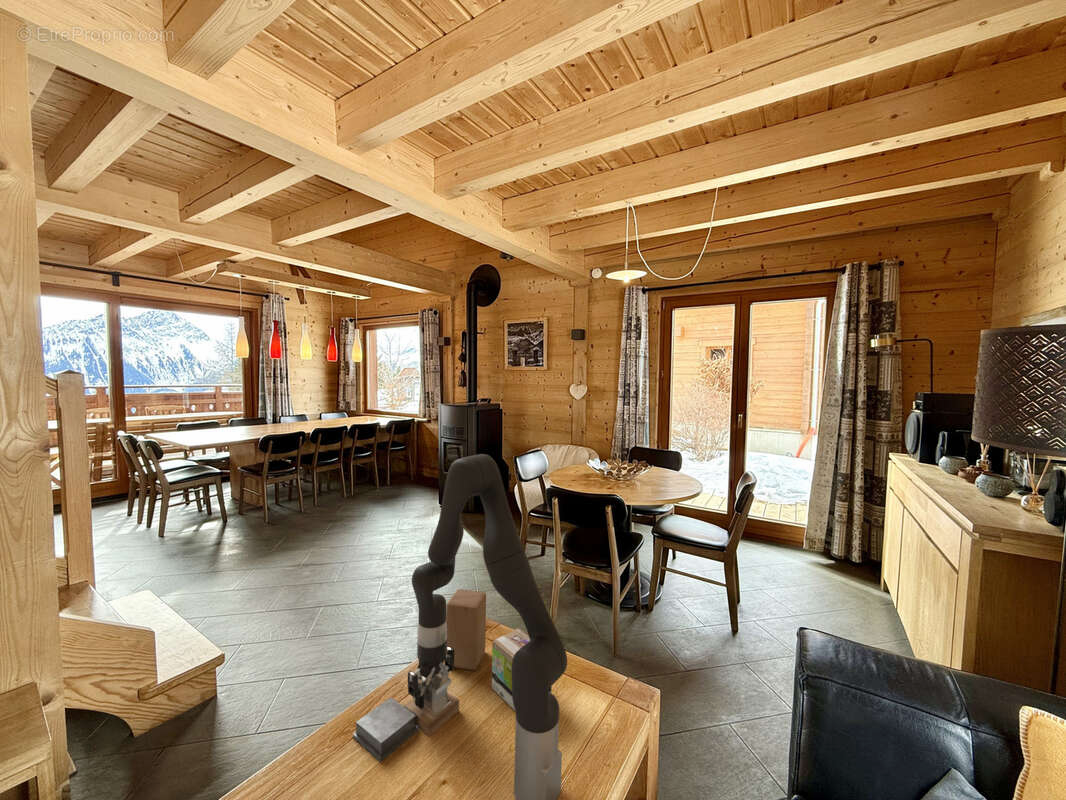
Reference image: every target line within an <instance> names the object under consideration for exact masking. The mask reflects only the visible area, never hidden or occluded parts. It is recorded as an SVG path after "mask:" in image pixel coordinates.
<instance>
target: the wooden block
mask: <svg viewBox="0 0 1066 800" xmlns="http://www.w3.org/2000/svg"><path fill="white" fill-rule="evenodd" d="M486 620H487V594H486V592H484V591H478V590H470V589H469V590H468V589H465V588H463V589H462V588H459V589H457V590H456V591H455V592H454V594H453V595H452V596H451V598H450V599H449V600H448V601H447V602H446V623H447V646H449V647H451V648H452V649H454V668H458V669H463V670H469V671H476V670H477V668H478V667H479V664H480V662H481V659H482V658H483V656H484V654H485V652H486V628H487V625H486V624H487V621H486ZM449 664H450V663H449Z"/></svg>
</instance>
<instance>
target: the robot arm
mask: <svg viewBox="0 0 1066 800" xmlns="http://www.w3.org/2000/svg"><path fill="white" fill-rule="evenodd" d="M501 475H502V474H501V473H500V469H499V466H498V464H497V463H496V461H495V459H494V458H493V457H491V455H489V454H486V453H480V454H479V453H478V454H474V455H469V456H465V457H464V456H463V457H460V458H458V459H456V460H454V461H453V462H452V463H451V464H450V466H449V469H448V472H447V474H446V478H445V479H446V480H445V483H444V484H445V485H444V490H443V495H442V496H443V497H442V501H441V507H440V514H439V518H438V522H437V525H436V529H435V531H434V534H433V535H432V539H431V542H430V544H429V547H428V551H427V555H428V556H427V557H428V559H429V561H428V562H426V563H423V564H421V565H419V566H417V567H416V568H415V569H414V570H413V572H412V576H411V584H412V588H413V589H412V590H413V591H414V595H415V599H416V602H417V607H418V622H417V623H418V625H417V631H416V632H417V633H416V634H417V637H416V639H417V641H416V643H417V645H416V646H417V649H416V651H417V652H416V654H417V655H416V657H417V660H418V665H417V667H416V669H415V670H414V671H412V670H409V671H408V673H407V694H408V695H410V696H411V697H412V698H413V697H414V698H415V705H416V706H417V707H419V708H420V709H422V708H424V691H425V689H426V686H428V685H429V682H430V680H431V678H433V677H434V675H437V674H438V673H439V672H440V673H442V674H444V675H445V676H447V677H448V678H449V674H450V672H452V671H453V670H454V668H455V667H454V649H452V648H451V647H449V646H447V623H446V611H447V600H446V598H445V596H443V595H442V594H438V593H434V591H437V590H439V589H441V588H443V587H445V586H448V584H449V583H450V582H451V581H452V580H453V578H454V576H455V572H456V571H455V567H456V557H457V554H458V552H459V549H460V547H461V544H462V542H463V537H464V533H465V532H464V530H465V529H464V523H463V520H462V512H463V510H464V508H465V505H466V504H467V502H468V501H469V499H470V498H472V497H476V496H479V497H480V501H481V503H482V506H483V511H484V514H485V528H484V536H483V537H484V538H483V545H482V546H483V547H482V556H483V560H484V565H485V566H486V570H487V573H488V575H489V579H490V581H491V585H492V586H493V588H494V589H495V591H496V592H497V593H498V595H500V596H501V597H502V598H503V599H504V600H505V601H506V602H508V604H509V605H511V606H512V607H513V608H514V609H515V610H516V612H517V613H518V614H519V616H520V618H521V619H522V621H523V624H524V626H525V629H526V631H527V635H528V636H529V638H530V641H529V642H528V643H526V644H525V645H524V646H523V647H521V648H520V649H519V650H518V651H517V652H516V653H515V655H514V657H513V661H512V699H513V704H514V708H515V710H514V711H515V728H514V730H515V733H514V734H515V737H514V769H513V771H514V773H513V774H514V776H513V777H514V778H513V779H514V781H513V784H514V785H513V795H514V798H515V800H558V798H559V796H561V793H562V765H563V764H562V761H563V759H562V758H563V752H562V750H560V749H559V733H560V732H559V731H560V730H559V729H560V705H559V702H558V699H557V697H556V696H555V695H554V694H552V692H551V693H550V692H549V688H550V687H551V686H553V685H554V684H555V683H556V682H557V681H559V679H560V678H561V677H562V676H563V675H564V674H565V672H566V670H567V667H568V656H567V655H568V654H567V652H566V648H565V646H564V643H563V640H562V638H561V637H560V634H559V632H558V630H557V628H556V625H555V624H554V622H553V619H552V618H551V615H550V614H549V611H548V608H547V606H546V604H545V602H544V600H543V597H542V595H541V592H540V590H539V587H538V584H537V582H536V579H535V576H534V573H533V571H532V567H531V564H530V562H529V559H528V556H527V553H526V551H525V549H524V545H523V543H522V540H521V538H520V535H519V532H518V530H517V526H516V523H515V521H514V518H513V515H512V512H511V508H510V506H509V502H508V498H507V494H506V490H505V486H504V483H503V478H502V476H501ZM449 663H450V664H449ZM422 676H423V677H424V678H426V680H423V679H422ZM421 684H422V687H421V689H420V685H421Z"/></svg>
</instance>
